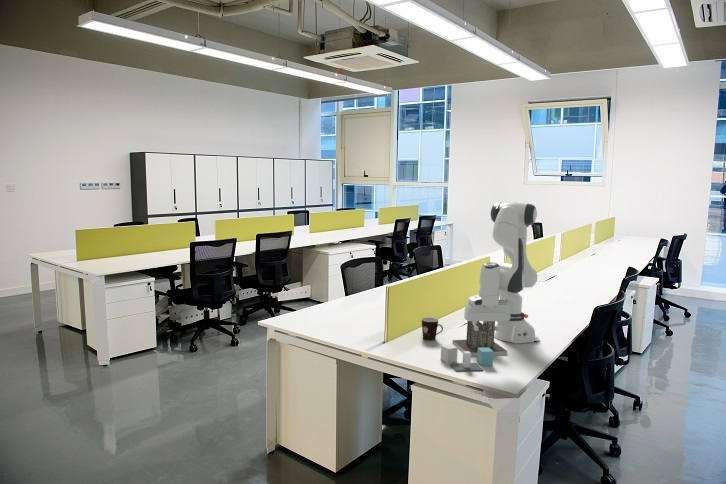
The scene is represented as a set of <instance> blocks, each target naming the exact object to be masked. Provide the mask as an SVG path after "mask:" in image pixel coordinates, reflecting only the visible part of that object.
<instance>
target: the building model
mask: <svg viewBox="0 0 726 484" xmlns="http://www.w3.org/2000/svg"><path fill="white" fill-rule="evenodd" d="M466 321H467V320H466ZM475 324H476V326H478V327H479V329H478V331H474V325H473V323H472V321H467V325H466V327H467V328H466V339H453V340H452V345H454V346H456V347H458V350H459V351H461V352H462V353H463V351H469V352H470V353H471V357H477V353H478V348H488V347H489V348H490V349H491V350H492V351H493V356H502V355H503V356H504V355H506V354H507V355H508V350H506V349H505V348H504V347H503V346H501V345H499V344H498V343H497V342H495V336H494V335H495V333H496V331H495V330H494V327H495V326H496V321H482V322H481V321H477V323H475Z"/></svg>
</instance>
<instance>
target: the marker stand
mask: <svg viewBox="0 0 726 484" xmlns="http://www.w3.org/2000/svg"><path fill="white" fill-rule="evenodd" d="M471 360H472V356H471V353H470V352H469V351H463V352H462V362H460V363H459V362H453V363H449V365H450V367H451V368H452V369H453V370H454V371H455V373H457V372H458V373H459V372H460V373H461V372H483V371H484V369H483V368H482V366H481V365H480V364H479V363H478V362H472V361H471Z"/></svg>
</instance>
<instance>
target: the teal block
mask: <svg viewBox="0 0 726 484" xmlns="http://www.w3.org/2000/svg"><path fill="white" fill-rule="evenodd" d="M476 363H477V364H478V365H479V366H480V367H493V366H494V355H493V351H492V350H491V349H490V348H489V347H488V348H478V353H477V356H476Z"/></svg>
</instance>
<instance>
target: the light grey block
mask: <svg viewBox="0 0 726 484" xmlns="http://www.w3.org/2000/svg"><path fill="white" fill-rule="evenodd" d="M440 346H441V347H440V361H443V362H444V363H446V364H450V363H458V350H459V349H458V347H456V346H455V345H454V344H453V343H449V344H442V345H440Z"/></svg>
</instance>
